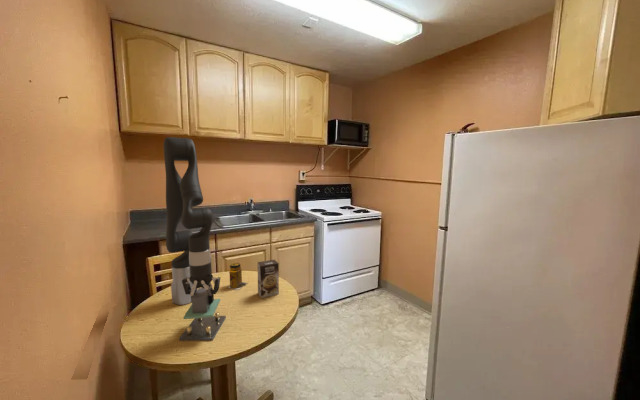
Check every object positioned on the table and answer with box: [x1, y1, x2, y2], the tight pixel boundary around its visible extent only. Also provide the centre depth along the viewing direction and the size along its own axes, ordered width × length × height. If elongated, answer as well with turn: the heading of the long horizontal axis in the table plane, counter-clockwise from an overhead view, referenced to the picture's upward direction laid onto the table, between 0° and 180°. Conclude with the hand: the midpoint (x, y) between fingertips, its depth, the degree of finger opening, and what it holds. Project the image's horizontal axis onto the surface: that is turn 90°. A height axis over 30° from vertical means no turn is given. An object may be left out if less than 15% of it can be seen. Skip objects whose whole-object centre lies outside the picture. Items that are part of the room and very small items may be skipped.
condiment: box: [226, 262, 248, 291], centre depth 138 cm, size 7×8×12 cm
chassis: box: [179, 312, 227, 341], centre depth 102 cm, size 12×14×4 cm
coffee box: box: [257, 259, 280, 299], centre depth 130 cm, size 9×6×16 cm
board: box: [183, 288, 221, 320], centre depth 101 cm, size 10×12×7 cm
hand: (202, 303), depth 101 cm, fingers closed on board, 5 cm apart
